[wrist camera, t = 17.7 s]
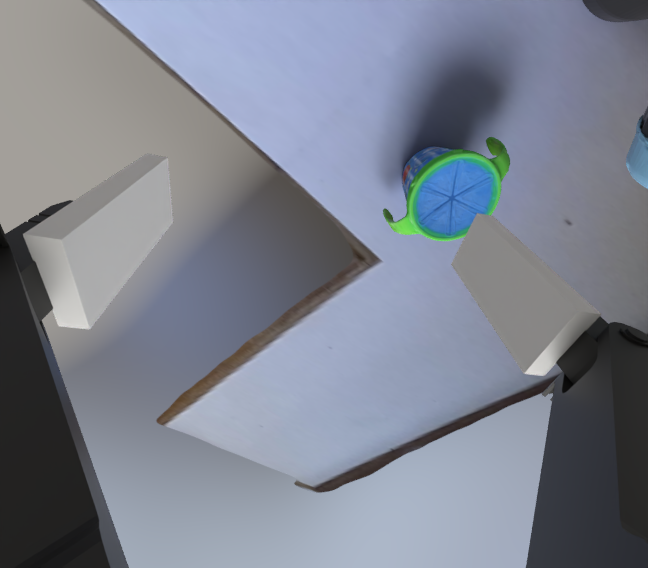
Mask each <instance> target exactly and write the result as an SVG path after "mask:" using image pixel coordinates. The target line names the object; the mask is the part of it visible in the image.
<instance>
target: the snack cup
mask: <svg viewBox="0 0 648 568" xmlns="http://www.w3.org/2000/svg"><path fill="white" fill-rule="evenodd" d="M486 143H487V146H488V149H489V151H490V152H491V154H492V155H496V156H497V157H495V158H492V159H488V158H486V157H485V156H483V155H481V154H479V153H477V152H474V151H468V150H463V149H456V150H453V149H449V148H444V147H433V146H431V147H427V148H425V149H423V150H421V151H419V152H418V153H416V154H415V155H414V156H413V157H412V158H411V159H410V160H409V161H408V162H407V164H406V165H405V168H404V171H403V176H402V184H403V190H404V193H405V197H406V201H407V214H406V216H405V217H404V218H402V219H401V220H399V221H397V222H394V221H393V217H392V215H391V214H390V212H389V211H388V210H387V209H384V210H383V214H384V217H385V219H386V221H387V222H388V223H389V225H390V226H391V228H392V229H393V230H394V231H395V232H397V233H400V234H405V235H411V234H422V235H424V236H425V237H427V238H430V239H432V240H437V241H451V240H455V239H459V238H462V237H465V236H466V234H467V232H468V230H469V228H470V226H471V224H472V222H473V220H474V218H475V216H476V214H477V213H479V214H485V215H490V216H491V214H492V213H493V211H494V210H495V208H496V206H497V203H498V201H499V198H500V193H501V181H502V180H503V178H504V176H505V175H506V173H507V172H508V169H509V165H510V158H509V155H508V154H507V150H506V148H505V146H504V145H503V144H502V142H501V141H499V140H498V139H496V138H494V137H489V138H488V139H487V140H486Z"/></svg>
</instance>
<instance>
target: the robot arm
mask: <svg viewBox="0 0 648 568" xmlns="http://www.w3.org/2000/svg"><path fill="white" fill-rule="evenodd" d="M583 2H584V4H585V6H586V7H587V8H588V9H589V11H590V12H592V13H593V14H594V15H595V16H597V17H599V18H601V19H603V20H606V21H610V22H626V21H638V20H644V19H648V0H583ZM636 130H637V132H636V135H635V137H634V140H633V142H632V145H631V147H630V150H629V152H628V154H627V158H626V165H627V168H628V170H629V171H630V174H631V176H632V177H633V178H634V179H635V180H636V181H637V182H638V183H639V184H641V185H642V186H644V187H645V188H647V189H648V107H647V109H646V111H645V113H644V115H643V116H641V117H640V119H639V121H638V123H637V127H636ZM172 223H173V213H172V202H171V189H170V177H169V166H168V157H163V156H158V155H152V154H145V155H144V156H142V157H141V158H139V159H138V160H136V161H135V162H133V163H131V164H130V165H128V166H127V167H125V168H124V169H122V170H121V171H119V172H118V173H116V174H115V175H113V176H111V177H110V178H108V179H107V180H105V181H104V182H102V183H101V184H99V185H98V186H96V187H95V188H93V189H91V190H90V191H88V192H87V193H85V194H84V195H82V196H81V197H79V198H78V199H76V200H75V201H71V200H69V201H66V202H63V203H59V204H56V205H53V206H50V207H49V208H47V209H45V210H44V211H42V212H41V213H39V215H36V216H34V217H32V218H31V219H29V220H28V222H24V223H23V224H21V225H19V226H18V227H16V228H14V229H13V230H11V231H10V232H8V233H6V234H4V231H3V229H2V227H1V224H0V568H129V567H128V564H127V562H126V558H125V556H124V553H123V550H122V547H121V544H120V541H119V539H118V536H117V533H116V530H115V527H114V524H113V521H112V519H111V515H110V513H109V510H108V507H107V504H106V501H105V498H104V495H103V493H102V490H101V487H100V484H99V481H98V478H97V476H96V473H95V470H94V467H93V464H92V461H91V458H90V455H89V453H88V450H87V447H86V444H85V441H84V438H83V436H82V433H81V430H80V427H79V424H78V421H77V418H76V416H75V413H74V410H73V407H72V404H71V401H70V398H69V396H68V393H67V390H66V387H65V384H64V381H63V378H62V375H61V373H60V370H59V367H58V364H57V361H56V359H55V355H54V353H53V350H52V347H51V344H50V341H49V338H48V335H47V333H46V330H45V327H44V325H43V323H42V319H43V318H44V317H45V316H46V315H47V314H48V313H49V312H50V311H51V310H53V313H54V316H55V318H56V321H57V323H58V326H62V327H72V328H81V329H90V328H91V327H92V326H93V325H94V323H95V322H96V321H97V320H98V318H99V317H100V316H101V315H102V313H103V312H104V311H105V309H106V308H107V307H108V305H109V304H110V303H111V302H112V300H113V299H114V298H115V296H116V295H117V294H118V293H119V291H120V290H121V289H122V287H123V286H124V285H125V283H126V282H127V281H128V280H129V278H130V277H131V276H132V275H133V273H134V272H135V271H136V269H137V268H138V267H139V265H140V264H141V263H142V262H143V260H144V259H145V258H146V256H147V255H148V254H149V253H150V251H151V250H152V248H153V247H154V246H155V245H156V244H157V242H158V241H159V240H160V238H161V237H162V236H163V235H164V233H165V232H166V231H167V229H168V228H169V227H170V226H171V224H172ZM451 265H452V266H453V268H454V269H455V271H456V272H457V274H458V275H459V277H460V278H461V280H462V281H463V283H464V284H465V286H466V287H467V289H468V290H469V292H470V293H471V295H472V297H473V298H474V300H475V301H476V303H477V304H478V306H479V307H480V309H481V310H482V312H483V313H484V315H485V316H486V318H487V319H488V321H489V322H490V324H491V325H492V327H493V328H494V330H495V331H496V333H497V334H498V336H499V337H500V339H501V340H502V342H503V343H504V345H505V346H506V348H507V349H508V351H509V352H510V354H511V355H512V357H513V358H514V360H515V361H516V363H517V364H518V366H519V367H520V369H521V370H522V372H523V373H524V374H531V375H541V376H545V375H546V374H547V372H548V371H549V370H550V369H551V368H552V367H553V366H554V365H555V364H556V363H557V364H558V366H559V367H560V368H561V370H562V371H563V372H562V373H561V374H560V375H559V376H558V377H557V378H556V379H555V380H554V381H553V382H552V383H551V384H550V386H549V387H548V388H547V389H546V390H545V391H544V392H543V393H542V395H543V396H546V395H547V394H550V393H553V397H552V398H551V401H552V406H551V412H550V418H549V425H548V431H547V437H546V444H545V451H544V456H543V463H542V469H541V475H540V482H539V488H538V495H537V501H536V507H535V514H534V521H533V527H532V533H531V539H530V546H529V552H528V558H527V565H526V568H648V336H647V335H646V334H645V333H643V332H642V331H640V330H638V329H635V328H633V327H630V326H628V325H625V324H622V323H617V322H613V323H610V324H608V323H607V322H606V321H605V320H604V319H602V318H601V317H600V315H601V313H600V312H598V311H597V310H596V309H595V308H594V307H593V306H592V305H591V304H590V303H588V302H587V301H586V300H585V299H584V298H583V297H582V296H581V295H580V294H578V293H577V292H576V291H575V290H574V289H573V288H572V287H571V286H570V285H569V284H567V283H566V282H565V281H564V280H563V279H562V278H561V277H560V276H559V275H557V274H556V273H555V272H554V271H553V270H552V269H551V268H550V267H549V266H548V265H546V264H545V263H544V262H543V261H542V260H541V259H540V258H539V257H538V256H536V255H535V254H534V253H533V252H532V251H531V250H530V249H529V248H528V247H526V246H525V245H524V244H523V243H522V242H521V241H520V240H519V239H518V238H517V237H515V236H514V235H513V234H512V233H511V232H510V231H509V230H508V229H507V228H505V227H504V226H503V225H502V224H501V223H500V222H499V221H498V220H497V219H496V218H494V217H493V216H490V215H485V214H479V213H477V214H476V216H475V218H474V220H473V222H472V224H471V226H470V228H469V230H468V232H467V234H466V236H465V238H464V240H463V242H462V244H461V246H460V248H459V250H458V252H457V254H456V256H455V258H454V260H453V262H452V264H451Z"/></svg>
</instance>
